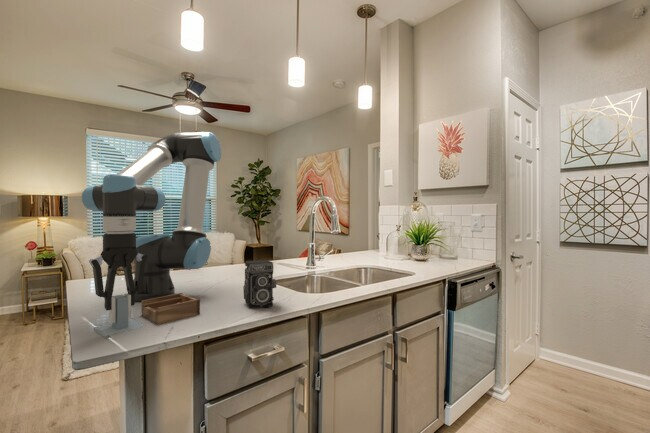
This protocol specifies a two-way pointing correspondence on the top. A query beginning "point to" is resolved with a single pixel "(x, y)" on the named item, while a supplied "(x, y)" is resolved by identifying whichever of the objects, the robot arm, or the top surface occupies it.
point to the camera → (259, 283)
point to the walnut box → (170, 308)
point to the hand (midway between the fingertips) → (120, 319)
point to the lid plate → (113, 331)
